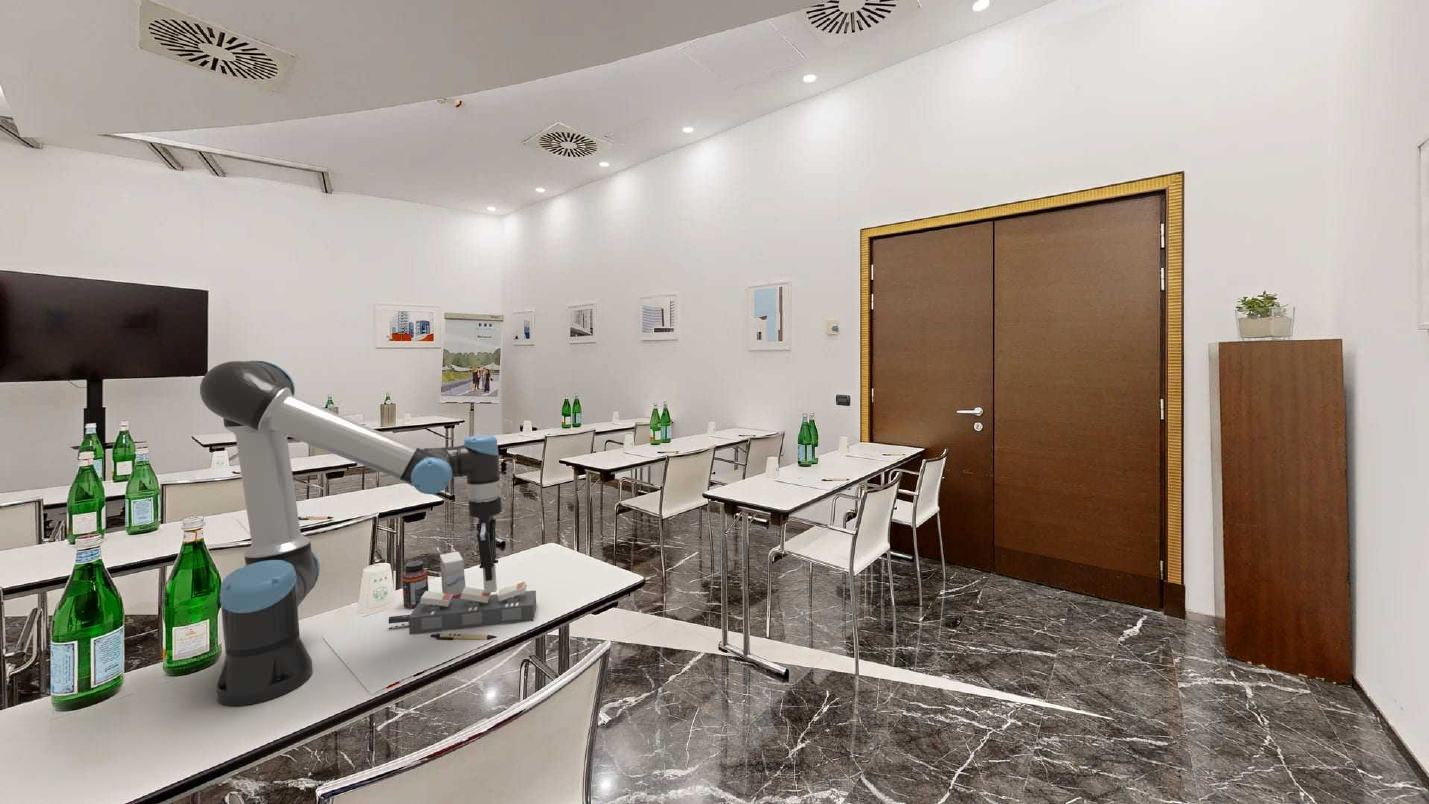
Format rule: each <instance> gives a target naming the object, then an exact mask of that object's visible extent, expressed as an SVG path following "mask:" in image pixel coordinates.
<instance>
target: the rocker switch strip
mask: <svg viewBox="0 0 1429 804" xmlns="http://www.w3.org/2000/svg"><path fill="white" fill-rule="evenodd" d="M498 594H499V593H496V594H490V598H489V600H488V603H483V602H478V601H475V602H474V603H473V602H472V600H466V599H461V598H454V599H452V600H451V602H450V604H449V606H439V605H435V606H434V607H433V606H432V605H431V604H423V603H420V602H419V603H418V604H417V606H416V607H415V608H413V610H412V612H411V613H410V614H403V615H394V616H389V617H388V624H400V623H408V631H409V632H408V633H409V635H413V634H423V633H433V632H440V631H441V632H442V631H449V630H450V631H452V630H458V629H459V630H460V629H470V628H477V627H487V626H488V627H489V626H495V625H496V626H497V625H504V624H515V623H522V622H523V623H524V622H531V621H534V620H535V615H536V609H537V591H536V590H526V592H525V593H523V594H520V595H517V596H514V598H513V599H512V598H508V599H505V600H502V601H499V599H498Z"/></svg>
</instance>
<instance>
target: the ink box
mask: <svg viewBox="0 0 1429 804" xmlns="http://www.w3.org/2000/svg"><path fill="white" fill-rule="evenodd" d="M439 559H440V577H441V578H440V579H441V591H442V592H441V593H446V594H453V596H452V599H454V598H461V594H462V592H463V590H464V588H465V587H467V586H466V578H465V577H466V576H465V575H466V574H465V565H464V564H465V563H464V559H463V557H462V556H461V553H460V552H459V551H454V552H447V553H441V554H439Z"/></svg>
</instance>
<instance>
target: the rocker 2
mask: <svg viewBox="0 0 1429 804" xmlns="http://www.w3.org/2000/svg"><path fill="white" fill-rule="evenodd" d="M490 595H492V592H489V593H484V589H482V588H481V589H480V588H475V587H469V586H466V587H465V588H464V590H463V592H462V594H461V599H466V600H472V602H473V603H474V602H475V601H478V602H483V603H488V600H489V598H490Z"/></svg>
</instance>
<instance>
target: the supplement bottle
mask: <svg viewBox="0 0 1429 804" xmlns="http://www.w3.org/2000/svg"><path fill="white" fill-rule="evenodd" d="M428 574H429V573H428V569H426V568H424V562H423V561H422V560H414V561H409V562H407V563H406V564H405V571H404V572H403V573H402V576H401V577H402V578H401V580H402V597H403V598H402V599H403V600H402V601H403V607H404V608H406V609H411V610H412V609H413V610H414V609H415V607H416V606H417V604H418V603H419V602H420V600H421V597H422V595H423V594H424V592H425V591H429V575H428Z"/></svg>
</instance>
